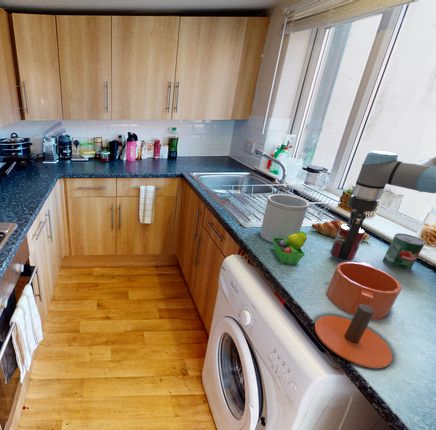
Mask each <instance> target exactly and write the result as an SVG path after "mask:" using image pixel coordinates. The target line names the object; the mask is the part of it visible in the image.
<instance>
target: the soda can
mask: <svg viewBox="0 0 436 430" xmlns="http://www.w3.org/2000/svg"><path fill="white" fill-rule="evenodd" d="M349 227H350V225H347V224H346V225H342V226H340V228H339V230H338V233H337V235H336V238H334V240H333V243H332V246H331V249H330V251H329V253H330V255H331V256H332V258H334V259H336V260H339V261H342V262H353V261H354V259H355V258H356V255H357V253H358V251H359V249H360V245H361V243H362V241H363V240H362V239H363V236H364V234H365V233H366V232H365V230H364V229H363V228H361V227H360V230H359V232H358V235H357V238H356V240H355V243H354V246H352V248H351V251H350V253H349V255H348V258H347V260H342V259H339V258H337V257H338V254H339V252H340V249H341V247H342V244H343V243H341V242H342V241H343V242H344V241H345V238H346V235H347V233H348V230H349Z"/></svg>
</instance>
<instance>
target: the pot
mask: <svg viewBox="0 0 436 430" xmlns="http://www.w3.org/2000/svg"><path fill="white" fill-rule="evenodd" d="M401 291H402V285H401V282H399V280H398V279H397V278H395V276H392V275H391V274H389V273H388V272H386V271H384V270H383V269H379V268H377V267H375V266H372V265H371V263H367V262H364V261H360V262H356V261H355V262H354V261H342V262H340V263H338V264H337V265H336V267H335V269H334V271H333V273H332V276H331V278H330V281H329V283H328V286H327V289H326V295H327V298H328V299H329V300H330V301H331V302H332V303H333V304H334V305H335V306H337V307H338V308H340V309H341V310H342V311H345V312H346V313H348V314H351V315H353V316H354V315H355V313H356V311H357V309H358V306H359V305H360V304H364V305H367V306H370V307H371V308H373V309H374V310H375V313H374V315H373V317H372V318H371V320H373V321H374V320H382V319H384V318H386V317H387V316H388V315H389V314H390V311H391V310H392V308H393V306H394V304H395V302H396V300H397V298H398V297H399V296H400V293H401Z"/></svg>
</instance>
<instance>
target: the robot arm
mask: <svg viewBox="0 0 436 430" xmlns="http://www.w3.org/2000/svg"><path fill="white" fill-rule="evenodd" d="M398 156H399V155H398V154H397V153H394V152H390V151H384V150H383V151H382V150H372V151H369V152H368V153H367V154H366V156H365V157H364V158H365V159H364V160H363V163H362V164H361V168H360V171H359V174H358V176H357V179H356V182H355V185H352V186H351V189H353V190H352V195H350V197H349V200H348V202H347V206H348V207H349V208H351V209H352V210H351V211H350V215H349V217H348V222H347V223H346V225H350V227H349V230H348V233H347V235H346V238H345V241H344V242H343V241H342V242H341V243H343V244H342V247H341V249H340V252H339V254H338V257H337V258H339V259H342V260H347V258H348V255H349V253H350V251H351V248H352V246H354V243H355V240H356V238H357V235H358V232H359V230H360V228H361V227H362V226H363V223H364V221H365V220H366V218H367V215H366V214H367V213H366V212H369V213H370V212H371V213H372V212H374V211H375V210H376V209H377V207H378V204H379V200H380V199H381V198H382V195H383V194H384V191H385V188H386V185H389V186H395V187H399V188H403V189H408V190H413V191H417V192H418V193H428V194H436V156H433V157H430V158H426V159H423V160H421V161H419V162H417V163H411V162H406V161H400V160H398Z"/></svg>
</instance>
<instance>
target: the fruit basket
mask: <svg viewBox="0 0 436 430" xmlns="http://www.w3.org/2000/svg"><path fill="white" fill-rule="evenodd" d="M307 239H308V236H307V233H306V232H305V231H303V230H300V231H299V232H297V233H296V234H291V235H289V237H288V239H283V238H273V241H274V243H273V251H274V253H275V254H276V256H277V257H278V259H279V260H280V263H282V264H289V265H291V264H292V265H297V264H298V263H299V262H300V260H301V259H302V258H303V257H304V256H305V255H306V253H305V252H304V251H303V250H302V247H304V245H305V242H306V241H307Z"/></svg>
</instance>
